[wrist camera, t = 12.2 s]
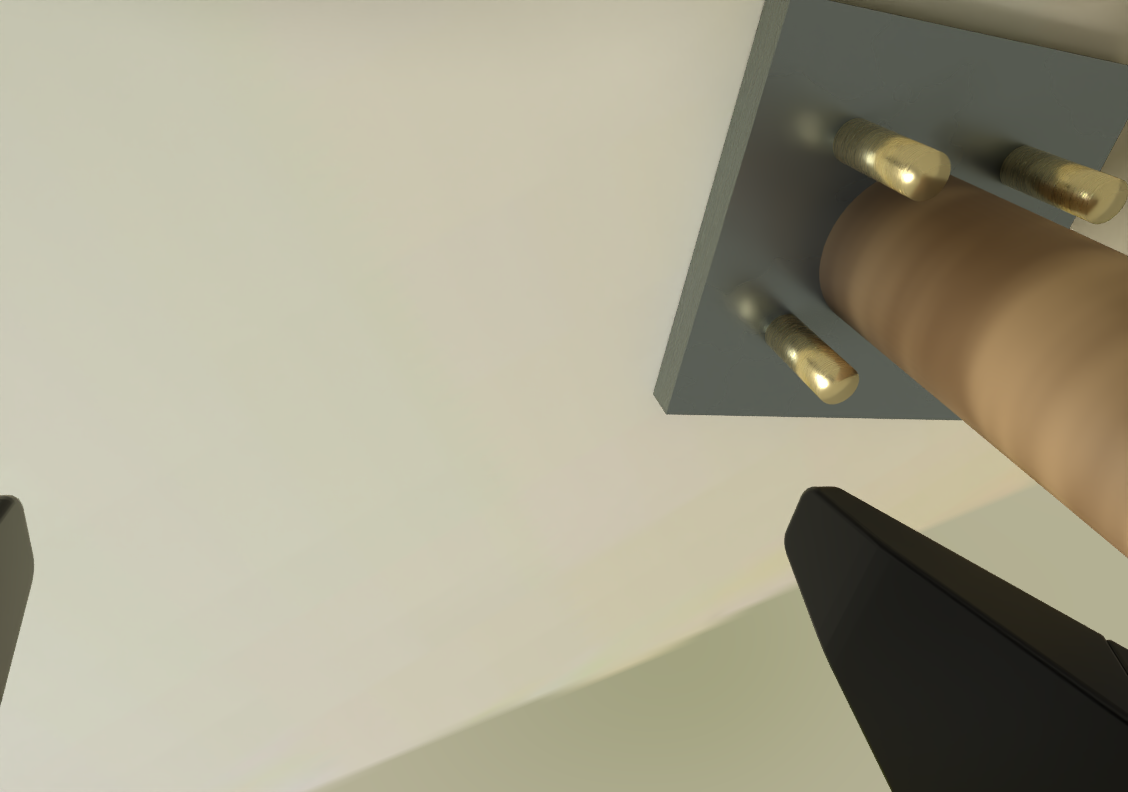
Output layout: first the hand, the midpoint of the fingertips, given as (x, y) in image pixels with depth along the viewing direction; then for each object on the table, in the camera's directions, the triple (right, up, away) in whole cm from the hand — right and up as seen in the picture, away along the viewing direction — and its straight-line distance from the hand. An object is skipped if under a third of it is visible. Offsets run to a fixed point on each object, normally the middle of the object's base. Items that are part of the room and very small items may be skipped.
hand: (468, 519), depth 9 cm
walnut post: (+11, +6, +14) cm, 19 cm away
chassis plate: (+11, +6, +15) cm, 20 cm away
